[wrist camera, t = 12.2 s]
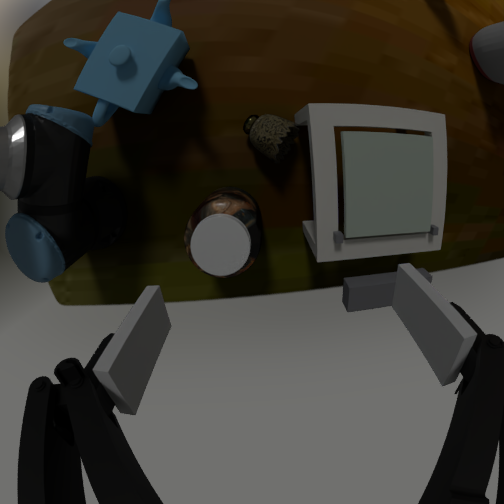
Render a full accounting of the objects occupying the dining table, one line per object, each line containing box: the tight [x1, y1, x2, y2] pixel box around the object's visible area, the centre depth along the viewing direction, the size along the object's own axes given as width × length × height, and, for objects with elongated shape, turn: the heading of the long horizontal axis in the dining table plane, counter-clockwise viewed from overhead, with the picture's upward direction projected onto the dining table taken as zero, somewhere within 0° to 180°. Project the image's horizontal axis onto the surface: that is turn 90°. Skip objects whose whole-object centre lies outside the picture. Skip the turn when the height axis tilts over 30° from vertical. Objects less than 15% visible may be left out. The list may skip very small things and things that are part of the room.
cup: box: [243, 114, 300, 164], centre depth 41 cm, size 8×7×8 cm
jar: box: [184, 187, 262, 278], centre depth 43 cm, size 12×12×15 cm
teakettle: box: [64, 0, 198, 127], centre depth 32 cm, size 19×19×15 cm
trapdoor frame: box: [294, 103, 447, 262], centre depth 39 cm, size 22×22×16 cm
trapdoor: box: [341, 131, 434, 312], centre depth 33 cm, size 24×14×4 cm, turn 6°
